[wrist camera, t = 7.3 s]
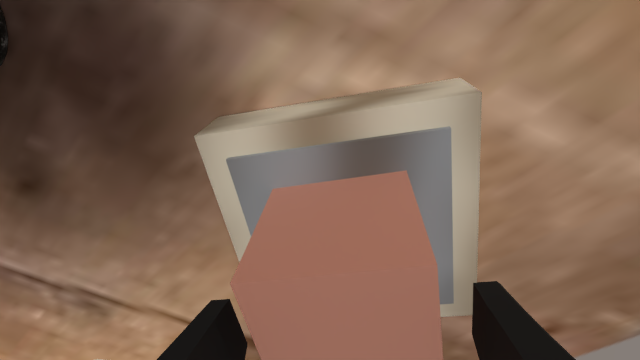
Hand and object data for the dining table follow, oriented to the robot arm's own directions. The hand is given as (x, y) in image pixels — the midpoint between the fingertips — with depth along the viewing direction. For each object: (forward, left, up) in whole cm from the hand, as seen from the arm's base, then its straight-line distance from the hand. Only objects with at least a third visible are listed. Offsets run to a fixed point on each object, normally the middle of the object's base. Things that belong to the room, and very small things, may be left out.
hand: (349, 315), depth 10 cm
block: (0, 0, -4) cm, 4 cm away
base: (0, 0, -7) cm, 7 cm away
